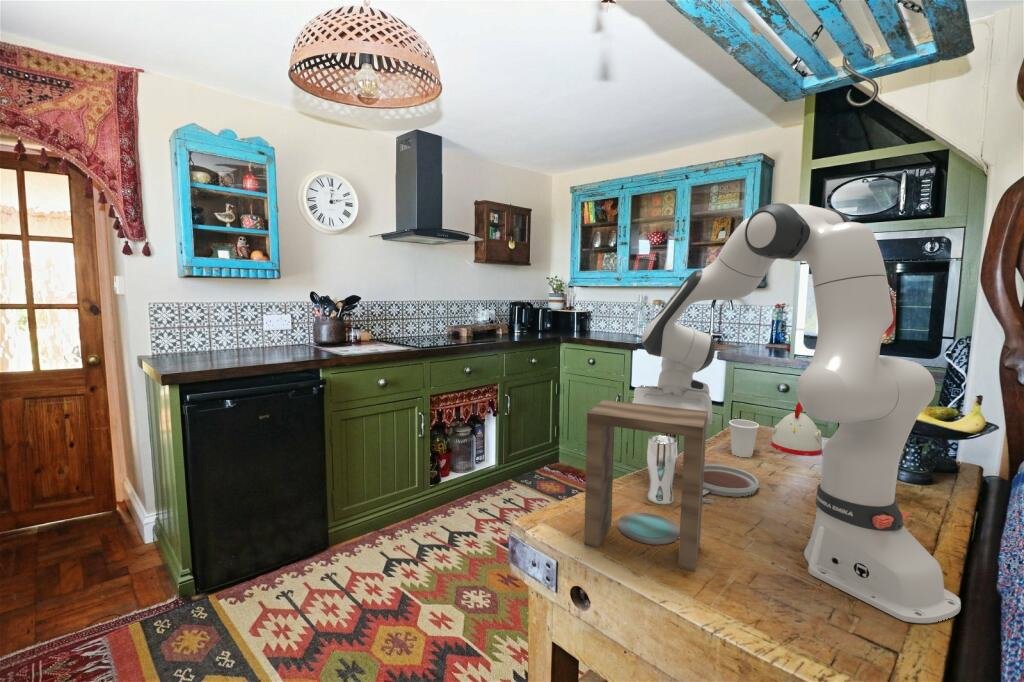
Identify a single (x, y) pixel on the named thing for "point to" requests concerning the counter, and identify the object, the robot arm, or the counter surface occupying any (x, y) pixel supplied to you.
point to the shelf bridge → (601, 476)
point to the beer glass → (661, 468)
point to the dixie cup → (743, 437)
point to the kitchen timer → (797, 435)
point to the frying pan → (728, 481)
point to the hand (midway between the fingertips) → (667, 433)
